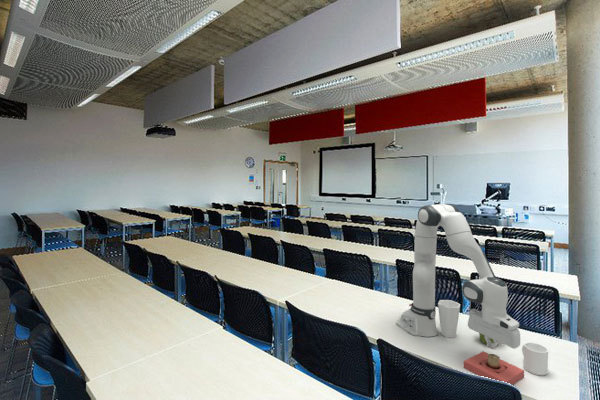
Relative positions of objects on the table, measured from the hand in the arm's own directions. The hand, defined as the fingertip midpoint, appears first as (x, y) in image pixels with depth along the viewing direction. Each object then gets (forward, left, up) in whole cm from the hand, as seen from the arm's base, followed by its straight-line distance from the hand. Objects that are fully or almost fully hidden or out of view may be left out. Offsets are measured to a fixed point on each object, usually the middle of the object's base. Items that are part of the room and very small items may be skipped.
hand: (491, 347), depth 133 cm
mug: (+8, +19, -11) cm, 23 cm away
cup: (-29, +14, -11) cm, 34 cm away
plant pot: (-14, +24, -11) cm, 30 cm away
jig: (+1, +1, -11) cm, 11 cm away
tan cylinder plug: (+1, +1, -11) cm, 11 cm away
